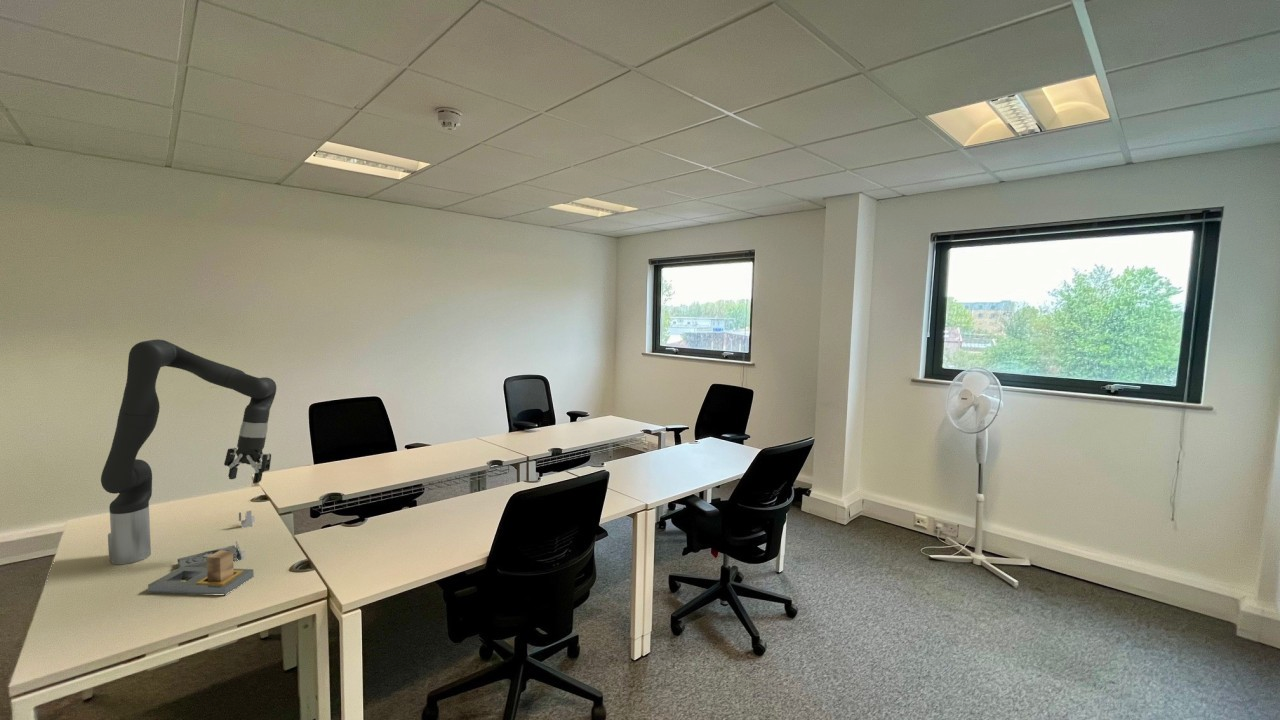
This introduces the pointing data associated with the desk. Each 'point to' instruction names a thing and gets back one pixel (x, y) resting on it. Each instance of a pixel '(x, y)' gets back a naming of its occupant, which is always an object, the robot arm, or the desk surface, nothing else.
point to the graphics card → (201, 558)
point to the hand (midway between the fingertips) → (244, 480)
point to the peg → (220, 566)
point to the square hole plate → (197, 582)
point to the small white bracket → (247, 519)
